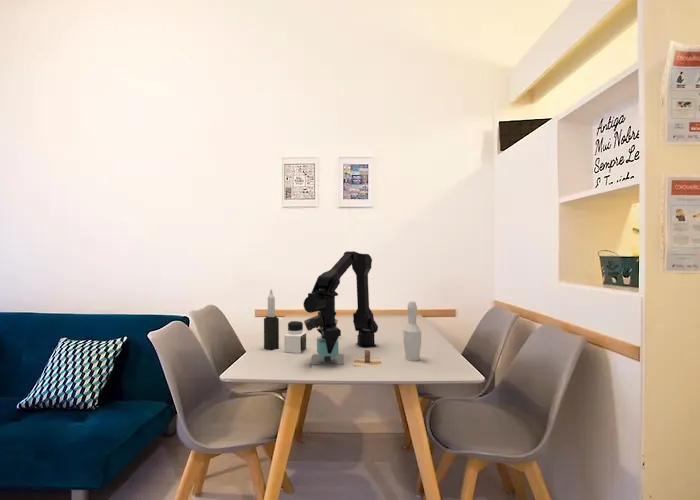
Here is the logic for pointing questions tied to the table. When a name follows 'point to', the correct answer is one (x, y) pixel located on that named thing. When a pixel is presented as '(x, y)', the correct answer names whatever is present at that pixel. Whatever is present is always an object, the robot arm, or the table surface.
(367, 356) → the stand
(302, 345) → the medicine bottle
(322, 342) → the collar
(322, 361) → the silver peg base
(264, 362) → the table surface
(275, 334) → the black and white bottle
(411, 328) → the grey bottle
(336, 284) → the robot arm
